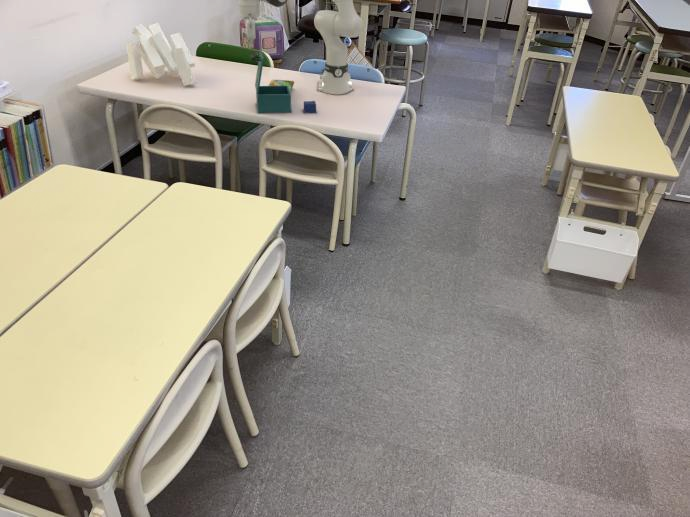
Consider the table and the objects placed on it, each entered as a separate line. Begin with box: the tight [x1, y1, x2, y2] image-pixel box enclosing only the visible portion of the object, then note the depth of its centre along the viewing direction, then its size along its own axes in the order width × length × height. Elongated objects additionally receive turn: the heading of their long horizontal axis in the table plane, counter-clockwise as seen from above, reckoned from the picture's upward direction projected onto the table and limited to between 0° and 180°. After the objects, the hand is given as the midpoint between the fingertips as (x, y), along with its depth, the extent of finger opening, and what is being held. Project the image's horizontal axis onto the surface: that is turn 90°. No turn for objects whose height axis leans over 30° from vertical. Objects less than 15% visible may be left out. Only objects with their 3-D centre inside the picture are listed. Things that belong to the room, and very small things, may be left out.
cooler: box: [255, 85, 292, 114], centre depth 266 cm, size 16×13×9 cm
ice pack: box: [302, 100, 317, 114], centre depth 266 cm, size 4×6×4 cm
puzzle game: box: [268, 79, 295, 93], centre depth 283 cm, size 12×5×20 cm
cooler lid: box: [250, 50, 265, 94], centre depth 256 cm, size 16×13×5 cm
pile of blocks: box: [125, 22, 196, 87], centre depth 287 cm, size 35×30×35 cm
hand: (251, 44), depth 249 cm, fingers open, 8 cm apart
